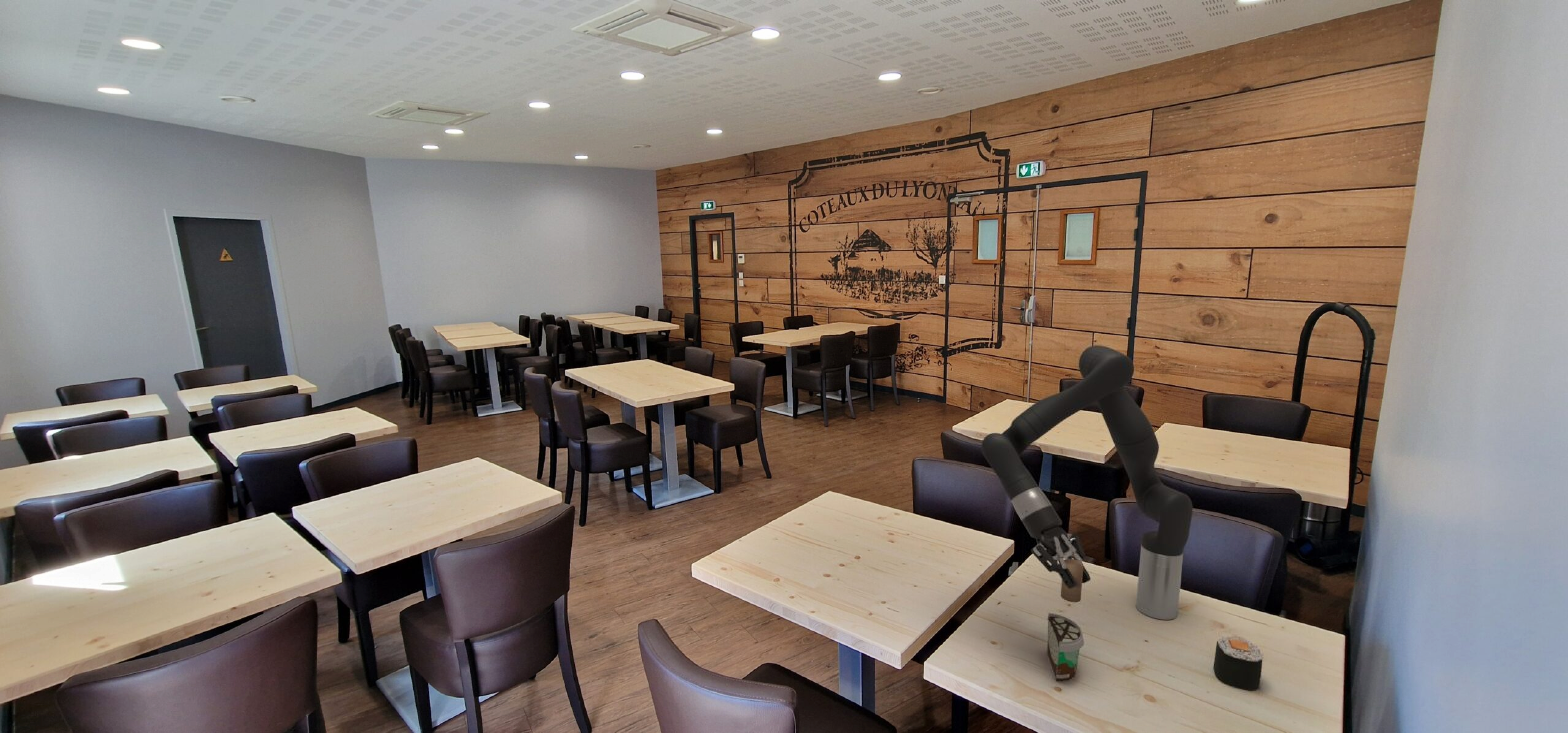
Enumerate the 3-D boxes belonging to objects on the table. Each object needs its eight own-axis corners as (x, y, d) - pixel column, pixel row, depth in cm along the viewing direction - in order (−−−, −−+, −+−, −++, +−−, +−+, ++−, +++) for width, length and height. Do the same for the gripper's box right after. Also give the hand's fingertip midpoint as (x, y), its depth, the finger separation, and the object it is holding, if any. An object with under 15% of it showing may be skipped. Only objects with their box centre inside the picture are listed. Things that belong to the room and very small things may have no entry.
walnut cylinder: (1068, 590, 139) (1070, 557, 138) (1084, 599, 136) (1087, 564, 135) (1056, 595, 137) (1059, 561, 136) (1073, 604, 134) (1075, 569, 133)
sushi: (1217, 684, 134) (1221, 650, 133) (1210, 662, 141) (1214, 630, 140) (1264, 695, 131) (1268, 660, 129) (1254, 671, 138) (1258, 638, 137)
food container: (1088, 689, 133) (1091, 646, 131) (1057, 685, 134) (1060, 643, 133) (1073, 654, 145) (1076, 614, 143) (1045, 651, 146) (1048, 611, 144)
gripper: (1025, 511, 136) (1071, 587, 128) (1066, 498, 144) (1113, 569, 135) (1004, 525, 142) (1047, 599, 133) (1045, 512, 149) (1088, 582, 141)
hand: (1080, 584), depth 134 cm, fingers closed on walnut cylinder, 4 cm apart
